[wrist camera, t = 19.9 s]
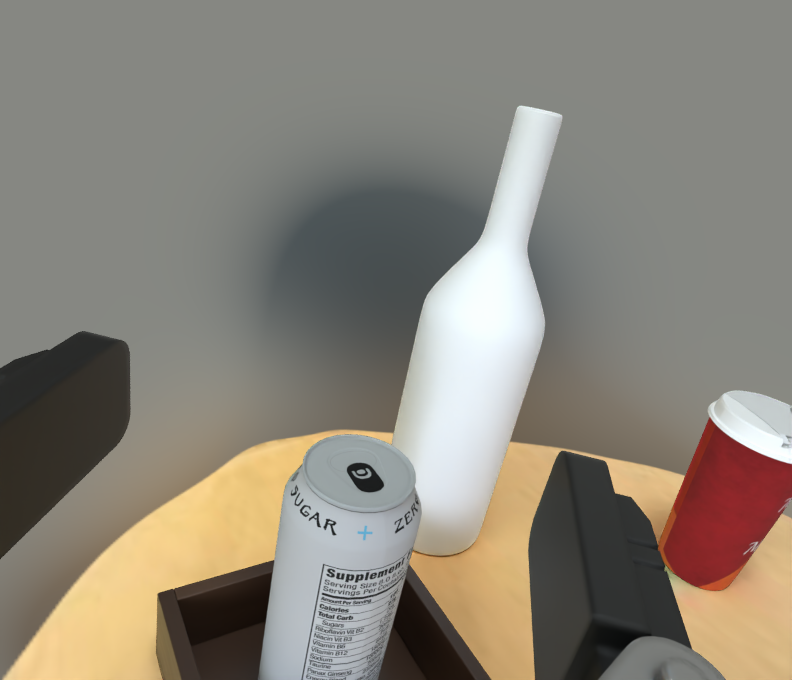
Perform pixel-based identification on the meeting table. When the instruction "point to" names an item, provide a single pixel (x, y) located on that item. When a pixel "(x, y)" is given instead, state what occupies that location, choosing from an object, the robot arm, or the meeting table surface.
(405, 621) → the walnut box
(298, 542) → the energy drink can
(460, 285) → the bottle
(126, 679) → the meeting table surface
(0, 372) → the robot arm
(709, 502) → the paper cup
